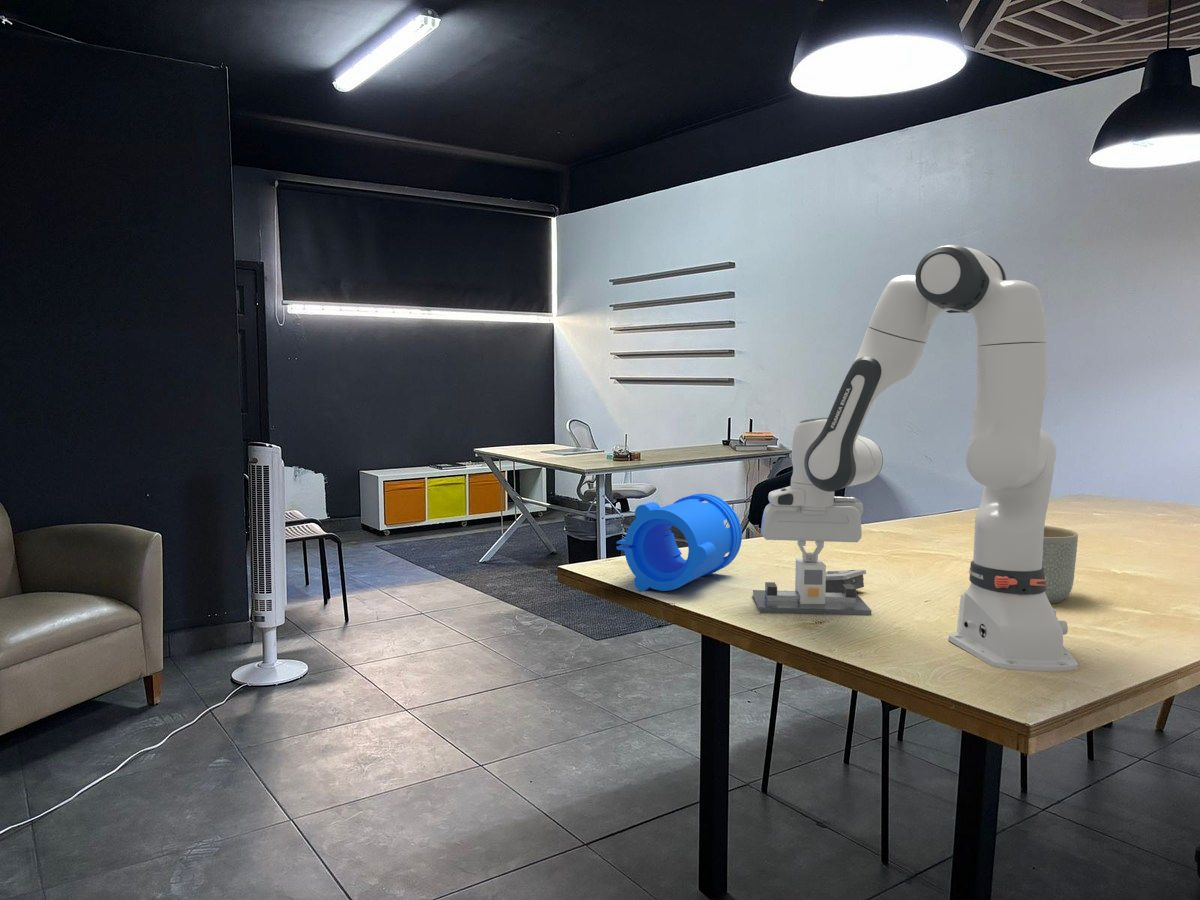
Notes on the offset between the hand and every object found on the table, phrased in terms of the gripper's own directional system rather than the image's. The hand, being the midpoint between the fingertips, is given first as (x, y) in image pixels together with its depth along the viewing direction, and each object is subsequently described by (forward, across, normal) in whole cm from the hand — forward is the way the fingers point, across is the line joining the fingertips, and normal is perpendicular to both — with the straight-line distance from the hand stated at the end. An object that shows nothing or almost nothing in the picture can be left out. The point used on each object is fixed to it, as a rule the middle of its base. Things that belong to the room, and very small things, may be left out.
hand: (809, 561), depth 178 cm
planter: (+10, -49, -11) cm, 51 cm away
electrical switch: (+9, -12, -15) cm, 21 cm away
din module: (+8, 0, 0) cm, 8 cm away
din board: (+10, 0, 0) cm, 10 cm away
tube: (+10, +26, -19) cm, 33 cm away
